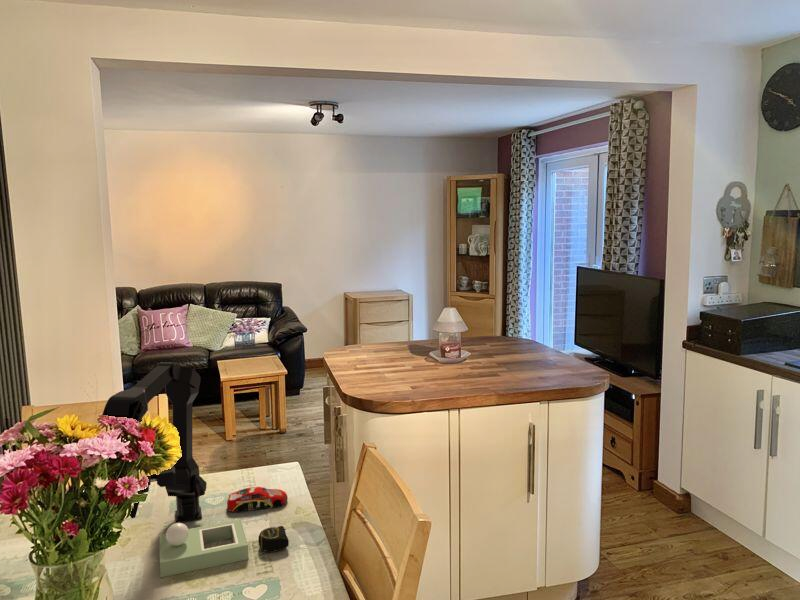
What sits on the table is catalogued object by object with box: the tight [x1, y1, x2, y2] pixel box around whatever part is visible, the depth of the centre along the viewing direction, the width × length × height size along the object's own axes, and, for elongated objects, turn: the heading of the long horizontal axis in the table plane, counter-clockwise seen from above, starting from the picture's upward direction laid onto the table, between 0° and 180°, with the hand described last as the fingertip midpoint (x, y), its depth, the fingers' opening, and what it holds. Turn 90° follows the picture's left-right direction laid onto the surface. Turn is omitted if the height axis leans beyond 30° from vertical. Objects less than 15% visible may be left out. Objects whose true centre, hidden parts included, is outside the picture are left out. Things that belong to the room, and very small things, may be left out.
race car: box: [226, 486, 288, 514], centre depth 166 cm, size 16×7×5 cm, turn 105°
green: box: [159, 519, 249, 578], centre depth 142 cm, size 13×19×4 cm
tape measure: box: [257, 525, 290, 552], centre depth 145 cm, size 7×7×4 cm
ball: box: [165, 522, 189, 546], centre depth 140 cm, size 5×5×5 cm
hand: (133, 517), depth 136 cm, fingers closed
